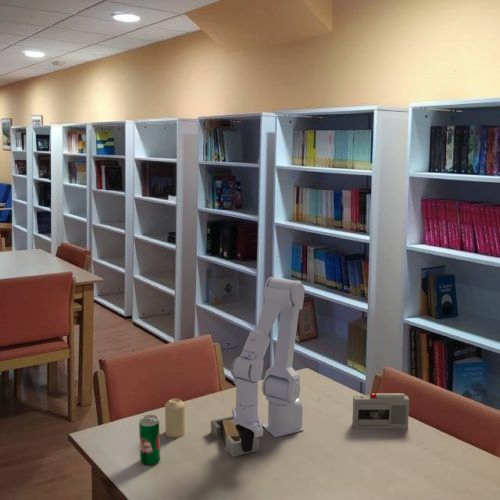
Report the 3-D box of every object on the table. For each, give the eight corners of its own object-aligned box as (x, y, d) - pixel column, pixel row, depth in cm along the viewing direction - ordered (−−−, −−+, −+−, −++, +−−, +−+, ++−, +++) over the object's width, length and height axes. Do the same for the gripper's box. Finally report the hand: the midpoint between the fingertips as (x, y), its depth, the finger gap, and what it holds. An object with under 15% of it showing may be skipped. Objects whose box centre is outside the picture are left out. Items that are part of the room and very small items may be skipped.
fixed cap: (234, 426, 175) (234, 415, 175) (241, 433, 171) (241, 422, 171) (210, 432, 172) (210, 420, 171) (217, 439, 168) (217, 427, 167)
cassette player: (353, 428, 174) (354, 396, 173) (352, 424, 177) (353, 392, 175) (407, 428, 174) (409, 396, 173) (405, 424, 177) (407, 392, 175)
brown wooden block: (234, 430, 173) (234, 419, 172) (240, 447, 163) (240, 435, 163) (222, 431, 172) (222, 420, 172) (227, 448, 163) (227, 436, 162)
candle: (181, 438, 168) (181, 404, 167) (162, 436, 169) (162, 403, 168) (187, 429, 174) (187, 396, 172) (169, 427, 175) (168, 395, 173)
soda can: (136, 462, 155) (134, 419, 153) (149, 454, 160) (148, 412, 157) (150, 468, 153) (149, 424, 151) (164, 460, 157) (163, 417, 155)
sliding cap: (251, 442, 166) (251, 431, 165) (258, 450, 162) (258, 438, 161) (226, 448, 162) (226, 436, 162) (233, 456, 158) (233, 444, 158)
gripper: (221, 394, 162) (222, 441, 164) (245, 416, 149) (245, 466, 151) (245, 389, 165) (245, 436, 167) (270, 410, 152) (270, 460, 154)
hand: (246, 450), depth 159 cm, fingers closed, pressing on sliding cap
